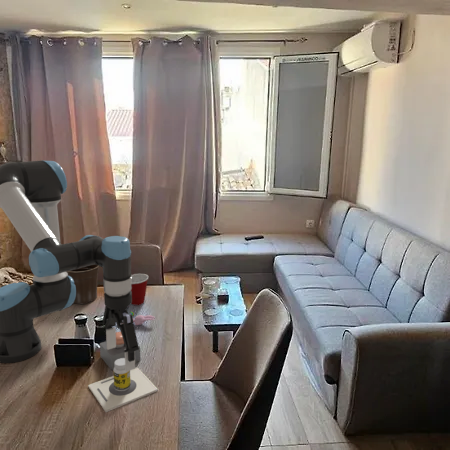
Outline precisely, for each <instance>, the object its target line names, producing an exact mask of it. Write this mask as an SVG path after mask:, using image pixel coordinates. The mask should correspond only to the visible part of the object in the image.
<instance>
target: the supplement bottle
mask: <svg viewBox="0 0 450 450" xmlns="http://www.w3.org/2000/svg"><path fill="white" fill-rule="evenodd" d="M112 371H113V376H114V388H115V390H117V391H125V390H127V389H129V388H130V385H131V383H130V371H127V372H126V371H125V358H120V359H117V360H116V361H115V363H114V369H113V370H112Z"/></svg>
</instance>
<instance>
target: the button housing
mask: <svg viewBox="0 0 450 450" xmlns="http://www.w3.org/2000/svg"><path fill="white" fill-rule="evenodd" d="M138 347H139V350H137V351H135V363H136V362H139V361H141V346H140V345H139V344H138ZM125 349H126V347H125V344H124V347H122V348H119V349H116V347H115V348H112V349H109V350H108V349H107V341H106V340H105V341H102V342H100V343H99V354H100V355H99V356H100V358H101V359H102V360H103V361H104V363H105V364H106V365H107V366H108V368H109V369H110V370H111V371H113V369H114V363H115V361H116V360H117V359H120V358H125V352H124V350H125Z"/></svg>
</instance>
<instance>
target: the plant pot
mask: <svg viewBox="0 0 450 450" xmlns="http://www.w3.org/2000/svg"><path fill="white" fill-rule="evenodd" d="M99 271H100V266H98V265H96V264H94V265H90V266H86V267H82V268H78V269H74V270H70V271H66V272H67V273H68V276H70V277H71V278H72V279H73V280H74V285H75V287H76V297H75V300H74V303H73V304H74V305H75V304H77V305H82V304H89V303H90V302H94V301H95V300H96V299H97V298H98V278H99V275H98V274H99Z"/></svg>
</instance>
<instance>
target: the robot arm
mask: <svg viewBox="0 0 450 450" xmlns="http://www.w3.org/2000/svg"><path fill="white" fill-rule="evenodd" d="M67 189H68V181H67V176H66V173H65V172H64V169H63V168H62V166H61V165H60V164H59V162H56V161H54V160H41V159H40V160H28V161H16V162H15V161H10V162H6V163H3V164H1V165H0V209H1V210H2V211H3V213H4V214H5V216H6V217H7V219H8V220H9V221H10V222H11V224H12V226H13V227H14V228H15V230H16V232H17V233H18V234H19V236H20V237H21V239H22V240H23V242H24V243H25V245H26V247H27V248H28V249H29V251H30V253H29V255H28V265H29V267H30V269H31V273H32V274H33V277H32V284H29V283H27V282H25V281H24V282H23V281H19V282H13V283H9V284H6V285H3V286H1V287H0V363H1V364H10V363H11V364H13V363H18V362H22V361H26V360H28V359H30V358H32V357H33V356H35V355H37V354H38V353H39V352H40V351H41V349H42V341H41V339H40V337H39V335H38V332H37V331H36V329H35V327H34V326H35V325H34V319H38V318H41V317H42V316H46V315H50V314H53V313H56V312H60V311H63V310H64V309H67V308H69V307H71V306H72V305H73V304H74V300H75V297H76V287H75V285H74V280H73V279H72V278H71V277H70V276H68V273H67V272H66V271H70V270H74V269H78V268H82V267H86V266H90V265H94V264H96V265H98V266H99V267H100V268H102V271H103V272H102V276H103V277H102V278H103V279H102V280H103V282H102V283H103V292H104V294H103V297H104V300H103V301H104V305H105V306H104V312H103V317H102V324H103V325H104V328H105V335H106V336H105V337H106V338H105V339H106V340H105V341H107V349H108V350H109V349H112V348H115V347H116V332H117V331H116V327H117V328H118V329H119V332H121V334H122V337H123V341H124V344H125V347H126V349H125V350H124V352H125V371H126V372H127V371H130V370H133V369H135V368H136V362H135V351H137V350H139V347H138V345H139V343H138V338H137V334H136V328H135V322H134V323H133V318H134V316H133V315H132V314H131V313H129V312H128V308H129V307H130V306H131V305H132V304H131V303H132V292H131V280H132V277H131V275H132V250H131V243H130V239H129V238H128V237H126V236H120V235H111V236H107V237H105V238H103V237H101V236H99V235H93V234H86V235H85V236H83V237H81V238H80V239H79V240H77V241H73V242H68V243H63V244H62V243H61V234H60V225H59V224H60V223H59V212H58V204H60V202H61V201H62V194H65V193H66V192H67ZM122 323H123V324H122Z"/></svg>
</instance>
